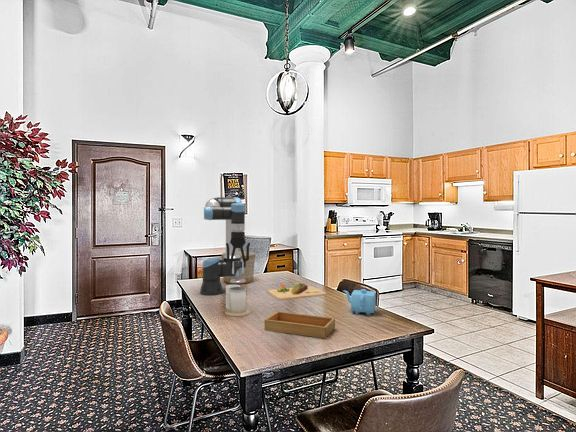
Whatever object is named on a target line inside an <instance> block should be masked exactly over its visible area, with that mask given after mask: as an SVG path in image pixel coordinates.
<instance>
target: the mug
mask: <svg viewBox="0 0 576 432" xmlns="http://www.w3.org/2000/svg"><path fill="white" fill-rule="evenodd" d="M232 287H241V284H228V285H225V294H226V293H230V291H229V288H232Z"/></svg>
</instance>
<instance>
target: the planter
mask: <svg viewBox="0 0 576 432" xmlns="http://www.w3.org/2000/svg"><path fill="white" fill-rule="evenodd" d="M225 255H226V251H225V252H222V253H221V255H220V256H221V260H223V257H224V256H225ZM238 255H239V256H240V257H241V259H242V260H243V258H242V254H241V250H238ZM244 255H245V258H246V251H244ZM255 259H256V253H255V252H252V251H249V260H247V261H246V267H244V274H242V272H241V275H240V276H239V279H245V282H243V283H231V282H230V280H231V279H237V276H235V277H233V276H232V277H222V279H223V281H224V282H225V283H226V284H228V285H242V284H243V285H245V284H249V283H250V284H251V282H253V280H254V273H255V272H254V271H255V261H256V260H255Z"/></svg>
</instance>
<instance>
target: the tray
mask: <svg viewBox="0 0 576 432" xmlns="http://www.w3.org/2000/svg"><path fill="white" fill-rule="evenodd" d="M263 323H264V330H265V331H272V332H279V333H286V334H293V335H299V336H307V337H313V338H321V339H326V338H328V337H329V335H330V334H331V333H332V332H333V331H334V330H335V328H336V318H334V317H329V316H328V317H327V316H319V315H313V314H303V313H302V314H301V313H295V312H294V313H293V312H286V311H276V312H274V313H273V314H271V315H270V316H268V317H266V318H265V319H264V322H263Z"/></svg>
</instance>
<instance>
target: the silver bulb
mask: <svg viewBox="0 0 576 432" xmlns="http://www.w3.org/2000/svg"><path fill="white" fill-rule="evenodd" d="M234 268H237V279H231V280H230V282H231V283H243V282H245V279H239V268H242V261H234Z"/></svg>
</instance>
